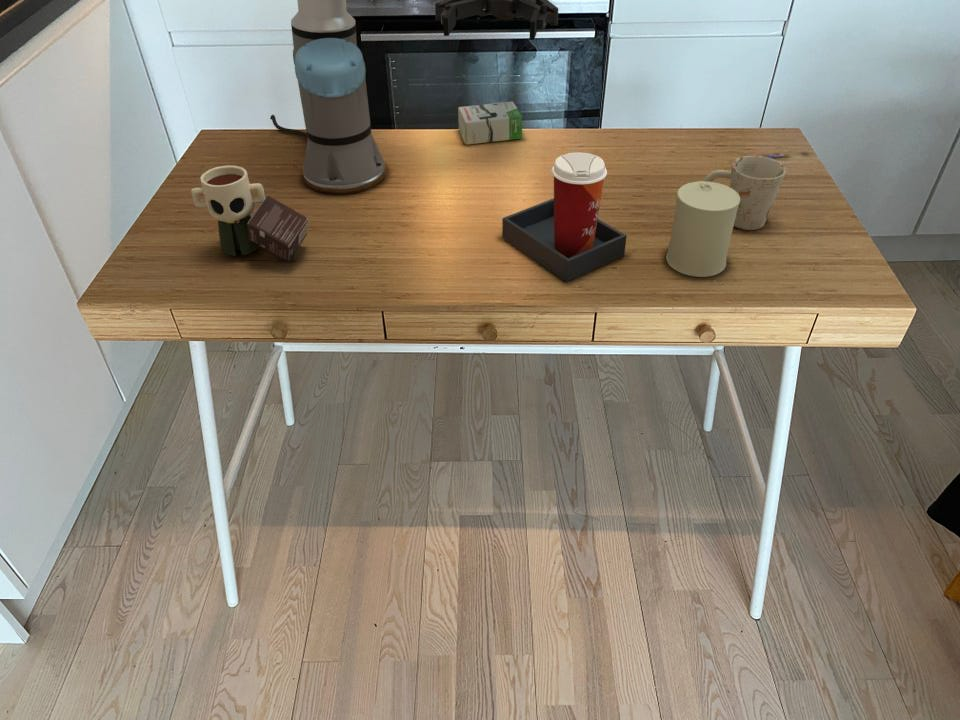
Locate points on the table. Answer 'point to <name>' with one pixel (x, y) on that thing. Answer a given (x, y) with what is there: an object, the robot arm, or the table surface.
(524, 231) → the tray
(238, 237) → the character mug
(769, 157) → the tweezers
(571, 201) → the coffee cup
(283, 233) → the box
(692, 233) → the can
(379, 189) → the table surface
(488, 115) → the ink box
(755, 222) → the mug
